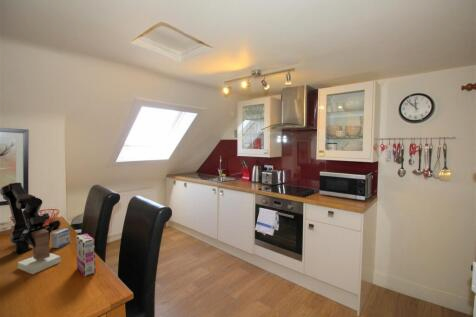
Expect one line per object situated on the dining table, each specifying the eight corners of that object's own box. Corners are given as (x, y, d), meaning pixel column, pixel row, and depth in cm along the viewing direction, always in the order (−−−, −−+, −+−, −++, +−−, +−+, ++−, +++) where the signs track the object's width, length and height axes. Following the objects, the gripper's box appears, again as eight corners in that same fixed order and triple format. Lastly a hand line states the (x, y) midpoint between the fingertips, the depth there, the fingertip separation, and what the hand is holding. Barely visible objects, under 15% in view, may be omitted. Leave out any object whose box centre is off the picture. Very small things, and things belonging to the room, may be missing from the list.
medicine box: (57, 248, 135) (57, 233, 134) (51, 247, 136) (50, 233, 135) (70, 242, 143) (69, 228, 142) (64, 241, 143) (63, 228, 143)
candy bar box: (96, 272, 111) (95, 239, 110) (84, 277, 107) (82, 242, 106) (88, 264, 118) (87, 232, 117) (76, 268, 115) (75, 235, 113)
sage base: (18, 268, 114) (17, 262, 114) (46, 257, 125) (45, 251, 125) (32, 274, 109) (32, 268, 109) (60, 261, 120) (60, 256, 120)
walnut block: (33, 257, 115) (31, 232, 114) (45, 253, 120) (44, 228, 118) (37, 260, 113) (35, 234, 112) (49, 256, 117) (48, 231, 116)
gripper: (10, 214, 108) (20, 243, 103) (58, 204, 124) (68, 230, 119) (6, 227, 113) (15, 255, 108) (52, 216, 129) (62, 241, 124)
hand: (42, 244), depth 115 cm, fingers closed on walnut block, 5 cm apart
